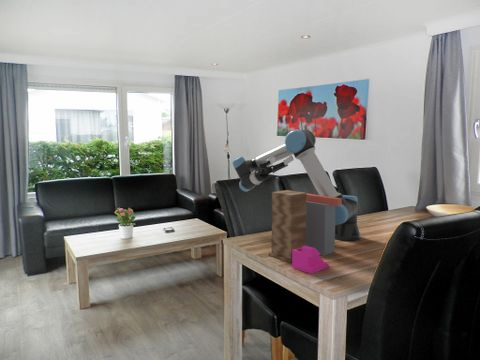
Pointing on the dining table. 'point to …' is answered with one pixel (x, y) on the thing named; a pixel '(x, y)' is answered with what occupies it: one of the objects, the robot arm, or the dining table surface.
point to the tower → (288, 223)
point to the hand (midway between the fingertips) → (283, 158)
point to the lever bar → (324, 199)
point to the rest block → (320, 227)
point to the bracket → (308, 260)
